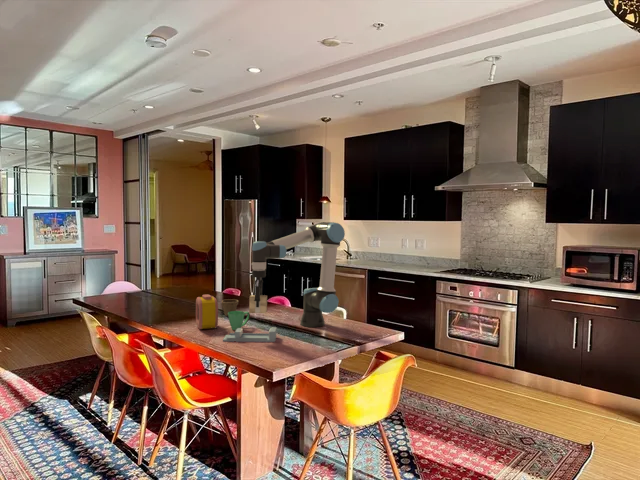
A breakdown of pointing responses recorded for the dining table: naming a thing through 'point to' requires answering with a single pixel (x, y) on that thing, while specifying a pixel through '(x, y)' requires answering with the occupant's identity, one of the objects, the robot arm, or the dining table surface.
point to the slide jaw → (238, 332)
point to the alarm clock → (206, 312)
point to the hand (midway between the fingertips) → (258, 311)
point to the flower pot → (229, 305)
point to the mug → (237, 319)
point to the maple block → (262, 304)
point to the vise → (253, 337)
